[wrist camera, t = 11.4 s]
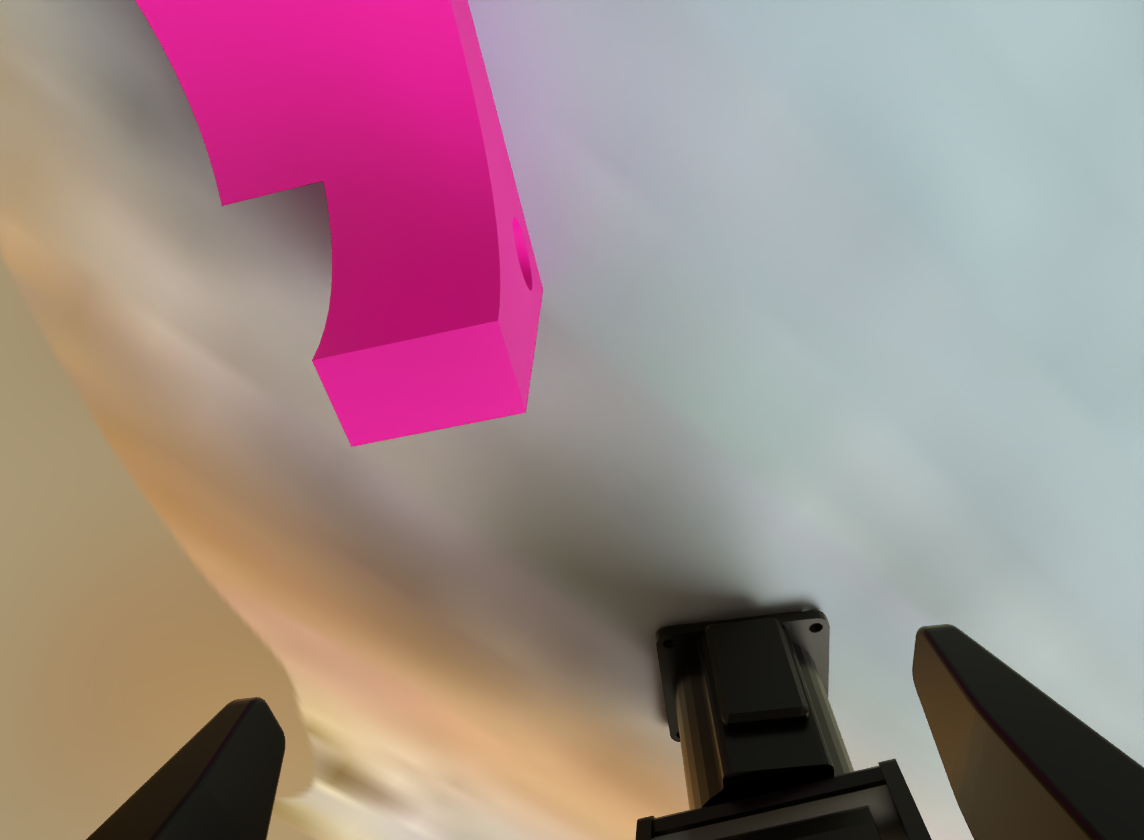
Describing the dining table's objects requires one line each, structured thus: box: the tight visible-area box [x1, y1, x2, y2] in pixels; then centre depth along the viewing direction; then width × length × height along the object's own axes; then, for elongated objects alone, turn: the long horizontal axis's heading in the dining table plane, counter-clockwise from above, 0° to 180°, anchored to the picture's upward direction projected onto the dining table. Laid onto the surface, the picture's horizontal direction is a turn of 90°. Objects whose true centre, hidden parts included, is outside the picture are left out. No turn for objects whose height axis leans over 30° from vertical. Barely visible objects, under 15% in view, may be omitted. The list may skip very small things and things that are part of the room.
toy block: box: [135, 0, 543, 447], centre depth 14 cm, size 15×6×8 cm, turn 13°
